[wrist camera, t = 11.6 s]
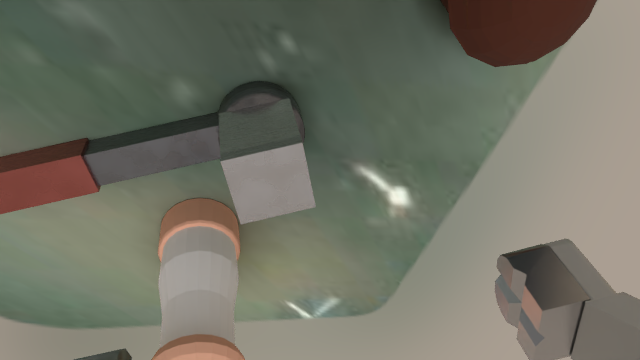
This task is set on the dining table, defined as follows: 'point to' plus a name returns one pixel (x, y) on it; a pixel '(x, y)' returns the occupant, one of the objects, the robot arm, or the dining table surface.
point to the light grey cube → (264, 161)
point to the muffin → (514, 27)
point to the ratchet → (123, 154)
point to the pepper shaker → (198, 281)
